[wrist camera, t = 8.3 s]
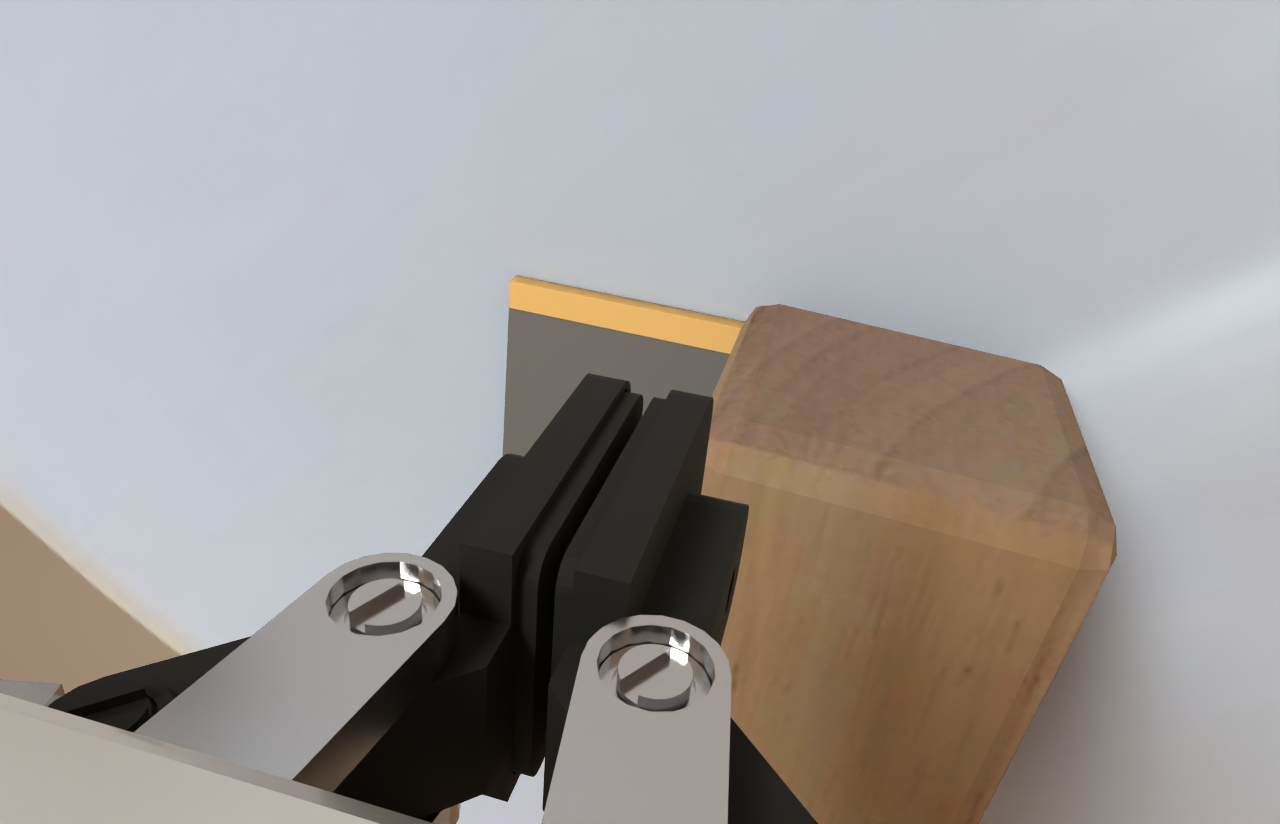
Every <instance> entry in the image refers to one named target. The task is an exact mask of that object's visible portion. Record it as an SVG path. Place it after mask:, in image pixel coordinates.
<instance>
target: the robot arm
mask: <svg viewBox="0 0 1280 824" xmlns="http://www.w3.org/2000/svg"><path fill="white" fill-rule="evenodd" d="M712 413H713V397H708V396H703V395H698V394H692V393H687V392H682V391H677V390H671V391H670V392H669V394H668V396H667V398H666V399H662V398H657V397H653V399H652V400H651V402H650V404H649V405H648V407H647V409H646V411H645V412H644V414H643V395H642V394H636V393H631V385H630V382H629V381H626V380H621V379H615V378H610V377H605V376H600V375H595V374H590V373H588V374H587V375H586V376H585V377H584V378H583V380H582V381H581V382H580V384H579V385H578V386H577V388H576V389H575V390H574V392H573V393H572V394H571V395H570V397H569V398H568V399H567V401H566V402H565V403H564V405H563V406H562V407H561V409H560V410H559V411H558V413H557V414H556V415H555V417H554V418H553V419H552V421H551V422H550V423H549V425H548V426H547V427H546V429H545V430H544V431H543V432H542V434H541V435H540V436H539V438H538V439H537V440H536V442H535V443H534V444H533V446H532V447H531V448H530V450H529V451H528V452H527V454H526V455H525V456H520V455H515V454H505V455H504V456H503V457H502V458H501V459H500V460H499V461H498V462H497V463H496V465H495V466H494V467H493V468H492V470H491V471H490V472H489V473H488V475H487V476H486V477H485V478H484V480H483V481H482V482H481V483H480V485H479V486H478V487H477V488H476V490H475V491H474V492H473V493H472V495H471V496H470V497H469V498H468V500H467V501H466V502H465V503H464V505H463V506H462V507H461V508H460V510H459V511H458V512H457V513H456V514H455V516H454V517H453V518H452V519H451V521H450V522H449V523H448V524H447V526H446V527H445V528H444V529H443V531H442V532H441V533H440V534H439V536H438V537H437V538H436V539H435V541H434V542H433V543H432V544H431V546H430V547H429V548H428V549H427V551H426V552H425V553H424V554H423V556H422V557H421V556H417V555H412V554H408V553H382V554H376V555H370V556H364V557H361V558H359V559H356V560H353V561H350V562H347V563H345V564H343V565H341V566H340V567H338V568H337V569H335V570H333V571H332V572H330V573H329V574H327V575H326V576H325V577H323V578H322V579H321V580H320V581H319V582H317V583H316V584H315V585H314V586H312V587H311V588H310V589H309V590H308V591H306V592H305V593H304V594H303V595H301V596H300V597H299V598H298V599H296V600H295V601H294V602H293V603H292V604H290V605H289V606H288V607H287V608H285V609H284V610H283V611H282V612H281V613H279V614H278V615H277V616H276V617H274V618H273V619H272V620H271V621H269V622H268V623H267V624H266V625H265V626H263V627H262V628H261V629H260V630H258V631H257V632H256V633H255V634H254V635H252V636H251V637H247V638H244V639H240V640H236V641H233V642H229V643H225V644H222V645H218V646H215V647H211V648H207V649H204V650H200V651H196V652H193V653H189V654H186V655H182V656H178V657H175V658H171V659H168V660H164V661H160V662H157V663H153V664H150V665H146V666H142V667H139V668H135V669H131V670H128V671H124V672H120V673H117V674H113V675H110V676H106V677H103V678H100V679H98V680H95V681H92V682H90V683H87V684H84V685H81V686H79V687H77V688H75V689H73V690H72V691H70V692H68V693H67V694H65V693H64V690H63V687H62V684H56V683H42V682H28V681H14V680H1V679H0V824H456V823H457V821H458V819H459V813H460V805H461V803H462V802H464V801H467V800H469V799H472V798H474V797H477V796H479V795H482V794H483V795H486V796H489V797H493V798H496V799H500V800H503V801H506V802H508V800H509V797H510V795H511V793H512V791H513V789H514V787H515V785H516V782H517V780H518V778H519V776H520V774H525V775H528V776H532V777H533V776H535V775H536V774H537V772H538V770H539V768H540V766H541V764H542V762H543V760H544V757H545V770H544V791H543V811H544V815H543V819H542V823H541V824H818V823H817V822H816V820H815V819H814V818H813V817H812V816H811V814H810V813H809V812H808V811H807V809H806V808H805V807H804V806H803V805H802V803H801V802H800V801H799V800H798V798H797V797H796V796H795V795H794V794H793V792H792V791H791V790H790V789H789V788H788V786H787V785H786V784H785V783H784V781H783V780H782V779H781V778H780V777H779V775H778V774H777V773H776V772H775V770H774V769H773V768H772V767H771V766H770V764H769V763H768V762H767V761H766V759H765V758H764V757H763V756H762V755H761V753H760V752H759V751H758V750H757V748H756V747H755V746H754V745H753V744H752V742H751V741H750V740H749V739H748V737H747V736H746V735H745V734H744V733H743V731H742V730H741V729H740V728H739V726H738V725H737V724H736V723H735V722H734V720H733V719H732V718H731V717H730V714H731V671H730V666H729V661H728V658H727V657H726V655H725V653H724V652H723V650H722V649H721V643H722V639H723V636H724V632H725V628H726V624H727V620H728V616H729V612H730V608H731V604H732V600H733V595H734V591H735V586H736V581H737V576H738V571H739V566H740V561H741V555H742V549H743V544H744V538H745V532H746V526H747V520H748V513H749V505H747V504H742V503H737V502H733V501H728V500H724V499H719V498H714V497H710V496H705V495H701V492H702V484H703V477H704V470H705V463H706V456H707V449H708V442H709V434H710V427H711V420H712ZM642 414H643V416H642Z"/></svg>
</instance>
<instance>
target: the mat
mask: <svg viewBox="0 0 1280 824" xmlns="http://www.w3.org/2000/svg"><path fill="white" fill-rule="evenodd" d="M744 323H745V322H743V321H738V320H734V319H729V318H724V317H719V316H714V315H709V314H704V313H699V312H694V311H689V310H684V309H679V308H674V307H670V306H665V305H660V304H655V303H650V302H645V301H640V300H635V299H630V298H625V297H620V296H615V295H610V294H606V293H601V292H596V291H591V290H586V289H581V288H576V287H571V286H566V285H561V284H556V283H551V282H546V281H542V280H537V279H532V278H527V277H522V276H515V277H514V278H513V279H512V280H511V281H510V289H509V322H508V346H507V370H506V393H505V417H504V440H503V456H504V455H505V454H515V455H520V456H525V455H526V454H527V452H528V451H529V450H530V448H531V447H532V446H533V444H534V443H535V442H536V440H537V439H538V438H539V436H540V435H541V434H542V432H543V431H544V430H545V429H546V427H547V426H548V425H549V423H550V422H551V421H552V419H553V418H554V417H555V415H556V414H557V413H558V411H559V410H560V409H561V407H562V406H563V405H564V403H565V402H566V401H567V399H568V398H569V397H570V395H571V394H572V393H573V392H574V390H575V389H576V388H577V386H578V385H579V384H580V382H581V381H582V380H583V378H584V377H585V376H586V375H587V374H588V373H590V374H595V375H600V376H605V377H610V378H615V379H621V380H626V381H629V382H630V385H631V393H636V394H642V395H643V414H644V412H645V411H646V409H647V407H648V405H649V404H650V402H651V400H652V399H653V397H657V398H662V399H666V398H667V396H668V394H669V392H670V391H671V390H677V391H682V392H687V393H692V394H698V395H703V396H708V397H712V394H713V392H714V390H715V387H716V385H717V383H718V381H719V378H720V376H721V374H722V371H723V369H724V367H725V364H726V362H727V360H728V358H729V355H730V353H731V351H732V348H733V346H734V344H735V342H736V339H737V337H738V335H739V332H740V330H741V328H742V326H743V324H744ZM643 414H642V416H643Z"/></svg>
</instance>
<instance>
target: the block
mask: <svg viewBox="0 0 1280 824" xmlns="http://www.w3.org/2000/svg"><path fill="white" fill-rule="evenodd" d="M712 397H713V413H712V420H711V427H710V434H709V442H708V449H707V456H706V463H705V470H704V477H703V484H702V492H701V495H705V496H710V497H714V498H719V499H724V500H728V501H733V502H737V503H742V504H747V505H749V513H748V520H747V526H746V532H745V538H744V544H743V549H742V555H741V561H740V566H739V571H738V576H737V581H736V586H735V591H734V595H733V600H732V604H731V608H730V612H729V616H728V620H727V624H726V628H725V632H724V636H723V639H722V643H721V649H722V650H723V652H724V653H725V655H726V657H727V658H728V661H729V666H730V671H731V714H730V717H731V718H732V719H733V720H734V722H735V723H736V724H737V725H738V726H739V728H740V729H741V730H742V731H743V733H744V734H745V735H746V736H747V737H748V739H749V740H750V741H751V742H752V744H753V745H754V746H755V747H756V748H757V750H758V751H759V752H760V753H761V755H762V756H763V757H764V758H765V759H766V761H767V762H768V763H769V764H770V766H771V767H772V768H773V769H774V770H775V772H776V773H777V774H778V775H779V777H780V778H781V779H782V780H783V781H784V783H785V784H786V785H787V786H788V788H789V789H790V790H791V791H792V792H793V794H794V795H795V796H796V797H797V798H798V800H799V801H800V802H801V803H802V805H803V806H804V807H805V808H806V809H807V811H808V812H809V813H810V814H811V816H812V817H813V818H814V819H815V820H816V822H817V823H818V824H978V823H979V821H980V820H981V818H982V816H983V814H984V812H985V810H986V808H987V806H988V804H989V802H990V800H991V798H992V796H993V794H994V792H995V791H996V789H997V787H998V785H999V783H1000V781H1001V779H1002V777H1003V775H1004V773H1005V771H1006V769H1007V767H1008V765H1009V763H1010V761H1011V760H1012V758H1013V756H1014V754H1015V752H1016V750H1017V748H1018V746H1019V744H1020V742H1021V740H1022V738H1023V736H1024V734H1025V732H1026V731H1027V729H1028V727H1029V725H1030V723H1031V721H1032V719H1033V717H1034V715H1035V713H1036V711H1037V709H1038V707H1039V705H1040V703H1041V701H1042V700H1043V698H1044V696H1045V694H1046V692H1047V690H1048V688H1049V686H1050V684H1051V682H1052V680H1053V678H1054V676H1055V674H1056V672H1057V670H1058V669H1059V667H1060V665H1061V663H1062V661H1063V659H1064V657H1065V655H1066V653H1067V651H1068V649H1069V647H1070V645H1071V643H1072V641H1073V640H1074V638H1075V636H1076V634H1077V632H1078V630H1079V628H1080V626H1081V624H1082V622H1083V620H1084V618H1085V616H1086V614H1087V612H1088V610H1089V609H1090V607H1091V605H1092V603H1093V601H1094V599H1095V597H1096V595H1097V593H1098V591H1099V589H1100V587H1101V585H1102V583H1103V581H1104V580H1105V578H1106V576H1107V574H1108V572H1109V570H1110V568H1111V566H1112V564H1113V562H1114V559H1115V557H1116V555H1117V553H1116V526H1115V524H1114V521H1113V518H1112V515H1111V513H1110V510H1109V507H1108V505H1107V502H1106V499H1105V496H1104V494H1103V491H1102V488H1101V486H1100V483H1099V480H1098V477H1097V475H1096V472H1095V469H1094V467H1093V464H1092V461H1091V458H1090V456H1089V453H1088V450H1087V448H1086V445H1085V442H1084V439H1083V437H1082V434H1081V431H1080V429H1079V426H1078V423H1077V420H1076V418H1075V415H1074V412H1073V410H1072V407H1071V404H1070V401H1069V399H1068V396H1067V393H1066V391H1065V388H1064V385H1063V382H1062V380H1061V379H1060V378H1058V377H1057V376H1055V375H1054V374H1053V373H1051V372H1050V371H1048V370H1047V369H1045V368H1044V367H1042V366H1041V365H1037V364H1033V363H1028V362H1024V361H1020V360H1016V359H1011V358H1007V357H1003V356H998V355H994V354H990V353H986V352H981V351H977V350H973V349H969V348H964V347H960V346H956V345H951V344H947V343H943V342H939V341H934V340H930V339H926V338H922V337H917V336H913V335H909V334H905V333H900V332H896V331H892V330H887V329H883V328H879V327H875V326H870V325H866V324H862V323H858V322H853V321H849V320H845V319H840V318H836V317H832V316H828V315H823V314H819V313H815V312H811V311H806V310H802V309H798V308H794V307H789V306H785V305H781V304H778V305H771V306H760V307H756V308H755V309H754V311H753V312H752V313H751V315H750V316H749V318H748V319H747V320H746V322H745V323H744V324H743V326H742V328H741V330H740V332H739V335H738V337H737V339H736V342H735V344H734V346H733V348H732V351H731V353H730V355H729V358H728V360H727V362H726V364H725V367H724V369H723V371H722V374H721V376H720V378H719V381H718V383H717V385H716V387H715V390H714V392H713V394H712Z"/></svg>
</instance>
